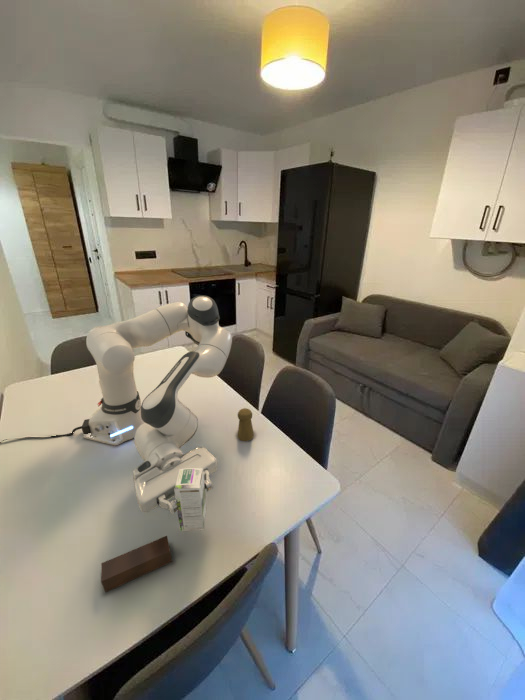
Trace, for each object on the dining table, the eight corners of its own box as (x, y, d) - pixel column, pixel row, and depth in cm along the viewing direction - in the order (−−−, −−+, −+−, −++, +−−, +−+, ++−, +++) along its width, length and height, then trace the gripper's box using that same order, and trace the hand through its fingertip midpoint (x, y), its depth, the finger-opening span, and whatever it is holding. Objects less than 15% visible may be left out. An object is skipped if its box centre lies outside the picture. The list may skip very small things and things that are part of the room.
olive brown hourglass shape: (251, 442, 103) (251, 417, 99) (235, 439, 104) (234, 415, 100) (255, 431, 109) (255, 407, 104) (239, 428, 110) (238, 405, 105)
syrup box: (184, 509, 74) (177, 468, 68) (207, 508, 74) (203, 466, 68) (180, 531, 69) (172, 489, 62) (205, 530, 69) (200, 487, 63)
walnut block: (105, 592, 62) (100, 581, 60) (105, 573, 65) (101, 563, 64) (172, 561, 67) (169, 551, 66) (169, 545, 71) (166, 535, 69)
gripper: (203, 453, 84) (230, 483, 75) (130, 492, 72) (152, 535, 62) (201, 436, 81) (229, 465, 72) (126, 474, 69) (147, 515, 60)
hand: (193, 498), depth 67 cm, fingers closed on syrup box, 8 cm apart
